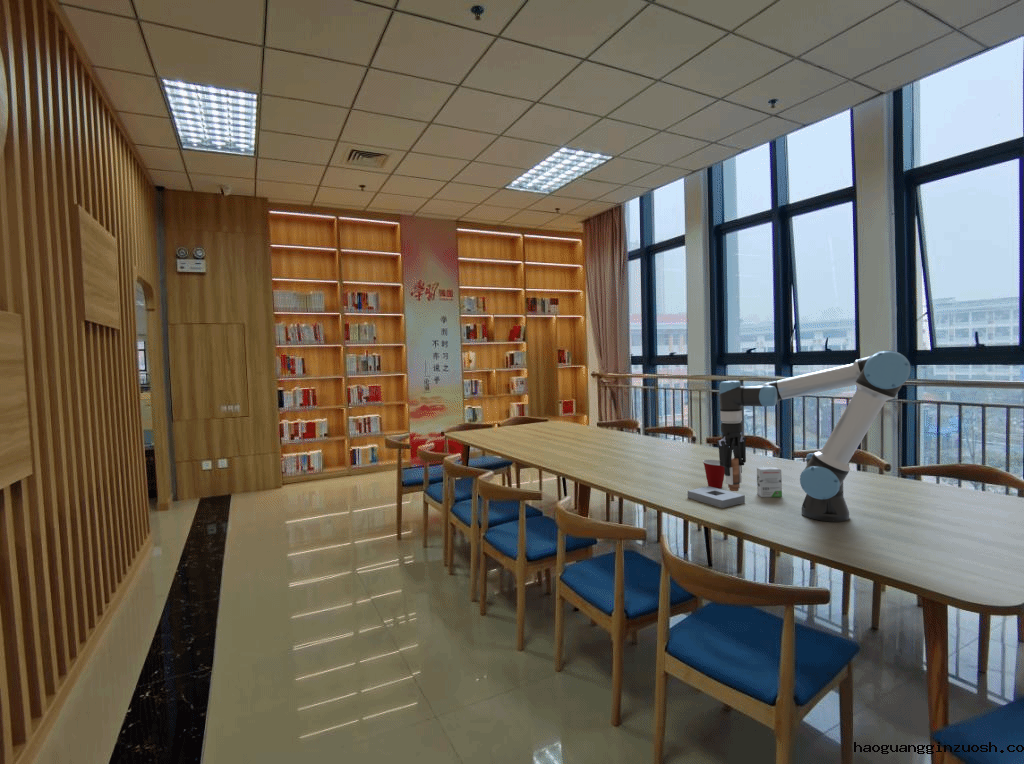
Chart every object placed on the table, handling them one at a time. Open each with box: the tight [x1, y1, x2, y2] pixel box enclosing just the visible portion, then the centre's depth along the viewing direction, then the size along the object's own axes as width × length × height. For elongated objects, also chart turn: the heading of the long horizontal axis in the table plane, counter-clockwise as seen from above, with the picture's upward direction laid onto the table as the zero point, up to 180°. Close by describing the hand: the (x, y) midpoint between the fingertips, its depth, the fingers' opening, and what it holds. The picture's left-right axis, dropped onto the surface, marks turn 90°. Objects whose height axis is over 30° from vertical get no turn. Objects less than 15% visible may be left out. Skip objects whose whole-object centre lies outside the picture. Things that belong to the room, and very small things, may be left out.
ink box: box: [756, 466, 783, 498], centre depth 220 cm, size 9×5×12 cm, turn 83°
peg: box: [727, 457, 741, 492], centre depth 198 cm, size 4×4×12 cm
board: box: [687, 485, 746, 509], centre depth 217 cm, size 18×13×3 cm
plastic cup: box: [702, 459, 725, 489], centre depth 237 cm, size 11×11×12 cm
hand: (733, 483), depth 198 cm, fingers closed on peg, 4 cm apart
